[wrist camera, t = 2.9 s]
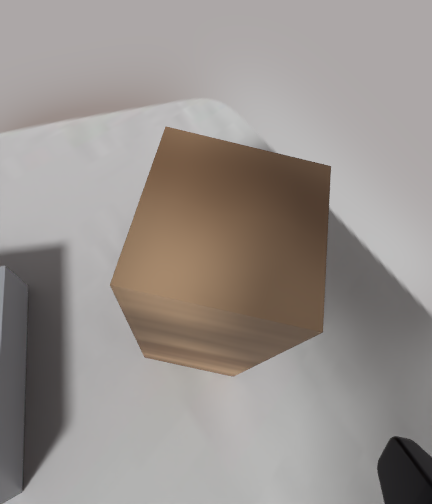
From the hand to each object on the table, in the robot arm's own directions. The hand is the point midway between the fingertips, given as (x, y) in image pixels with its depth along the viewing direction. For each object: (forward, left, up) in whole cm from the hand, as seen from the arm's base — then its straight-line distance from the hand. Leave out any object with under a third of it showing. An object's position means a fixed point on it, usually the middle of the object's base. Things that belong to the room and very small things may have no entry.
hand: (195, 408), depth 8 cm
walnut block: (+3, -4, -11) cm, 12 cm away
